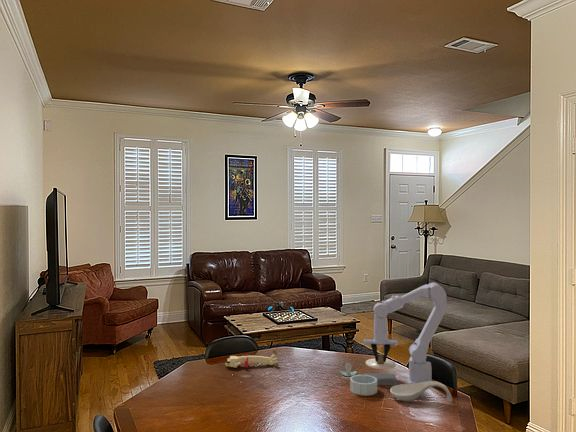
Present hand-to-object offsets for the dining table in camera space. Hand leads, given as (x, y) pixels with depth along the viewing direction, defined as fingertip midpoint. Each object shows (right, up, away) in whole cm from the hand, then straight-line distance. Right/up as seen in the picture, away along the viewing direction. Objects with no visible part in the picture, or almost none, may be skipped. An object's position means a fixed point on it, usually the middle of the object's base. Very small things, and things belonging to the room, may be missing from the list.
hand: (380, 361), depth 207 cm
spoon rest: (+12, -9, -21) cm, 26 cm away
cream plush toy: (-59, -9, +19) cm, 63 cm away
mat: (0, -8, 0) cm, 8 cm away
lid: (0, -1, 0) cm, 1 cm away
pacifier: (-14, -9, +4) cm, 17 cm away
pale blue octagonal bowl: (-10, -8, -13) cm, 18 cm away
